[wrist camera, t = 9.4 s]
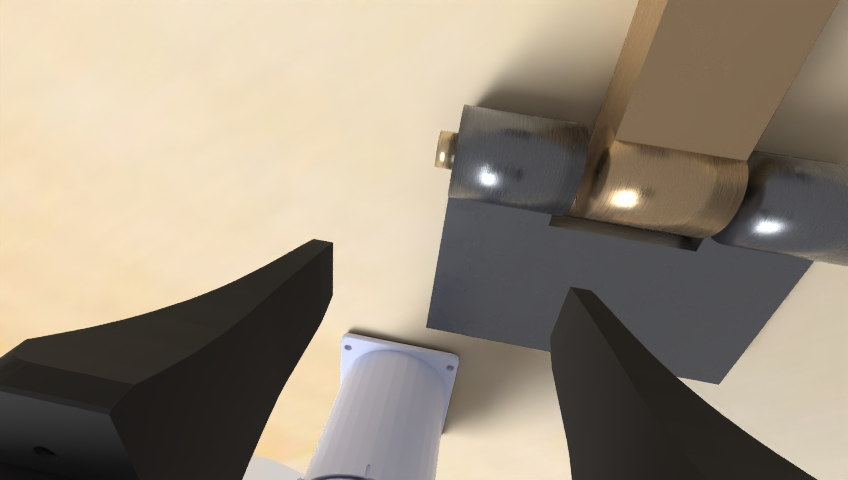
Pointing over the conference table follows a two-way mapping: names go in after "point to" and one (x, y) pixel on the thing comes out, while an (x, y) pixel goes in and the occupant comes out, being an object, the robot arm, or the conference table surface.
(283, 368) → the robot arm
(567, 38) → the conference table surface
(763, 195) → the metal hinge
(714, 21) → the brown boxy piece
